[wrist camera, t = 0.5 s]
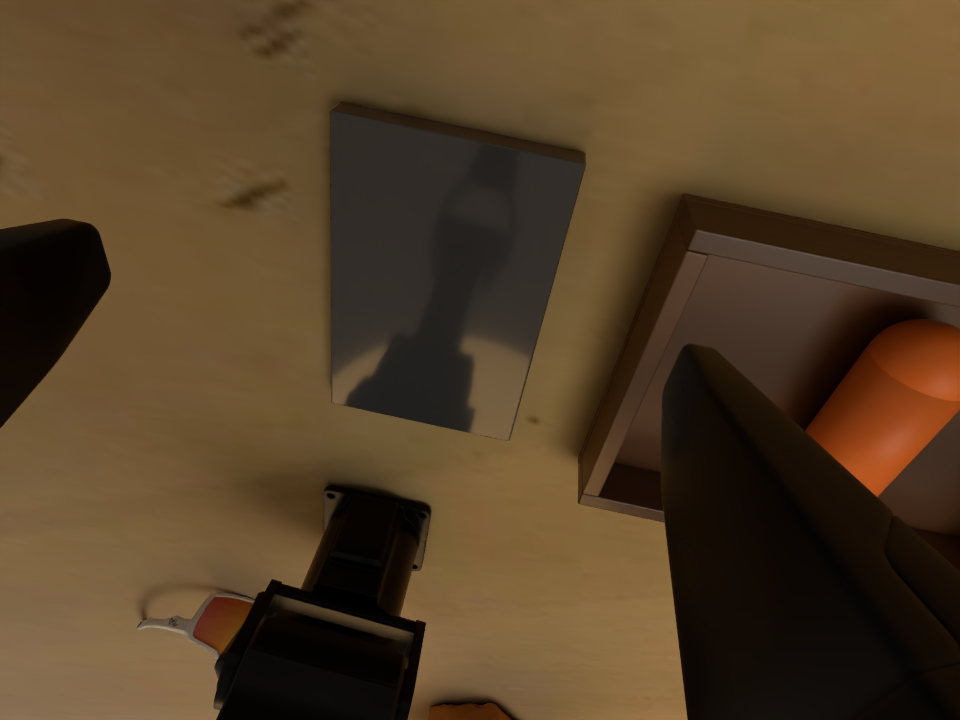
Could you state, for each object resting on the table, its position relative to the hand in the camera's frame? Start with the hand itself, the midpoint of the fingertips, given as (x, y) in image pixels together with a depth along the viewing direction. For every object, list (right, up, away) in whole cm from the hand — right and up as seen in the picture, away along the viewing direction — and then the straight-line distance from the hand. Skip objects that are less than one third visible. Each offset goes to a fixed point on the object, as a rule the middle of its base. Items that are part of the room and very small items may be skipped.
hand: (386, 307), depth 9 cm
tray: (+17, -2, +17) cm, 24 cm away
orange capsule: (+17, -3, +16) cm, 24 cm away
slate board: (0, +2, +16) cm, 16 cm away
